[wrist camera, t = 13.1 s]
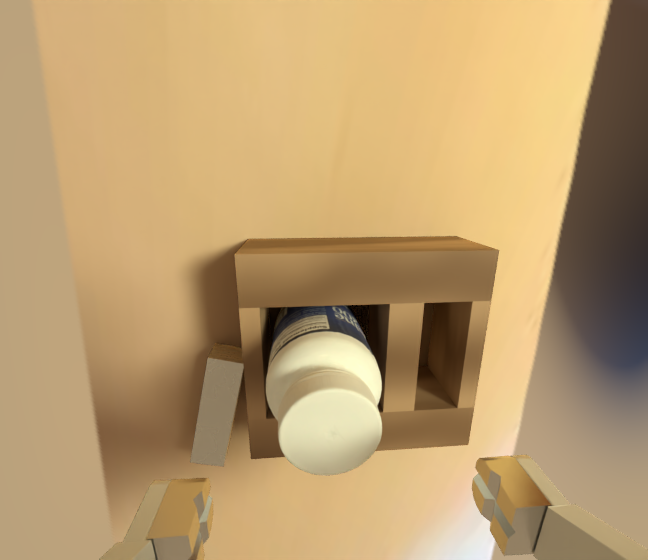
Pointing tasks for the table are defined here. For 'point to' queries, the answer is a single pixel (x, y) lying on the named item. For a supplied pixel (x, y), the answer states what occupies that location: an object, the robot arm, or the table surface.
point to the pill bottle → (323, 389)
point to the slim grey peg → (218, 405)
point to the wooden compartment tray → (377, 325)
